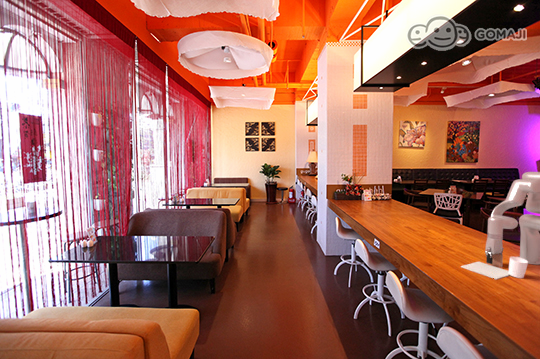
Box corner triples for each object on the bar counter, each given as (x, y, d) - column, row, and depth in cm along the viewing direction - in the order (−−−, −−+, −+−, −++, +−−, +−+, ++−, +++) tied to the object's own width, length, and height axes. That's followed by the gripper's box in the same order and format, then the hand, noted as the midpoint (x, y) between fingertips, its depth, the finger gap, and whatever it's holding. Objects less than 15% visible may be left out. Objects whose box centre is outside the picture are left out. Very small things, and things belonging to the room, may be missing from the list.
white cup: (507, 270, 163) (509, 255, 162) (524, 275, 158) (527, 259, 157) (507, 275, 157) (510, 259, 156) (525, 280, 152) (528, 264, 151)
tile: (488, 262, 178) (488, 251, 178) (502, 267, 171) (502, 254, 170) (486, 263, 178) (486, 251, 177) (500, 267, 170) (500, 255, 170)
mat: (478, 262, 179) (478, 261, 179) (514, 273, 161) (514, 272, 161) (460, 267, 173) (460, 266, 173) (496, 279, 154) (496, 278, 154)
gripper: (496, 233, 179) (495, 257, 181) (480, 236, 173) (479, 262, 174) (509, 236, 173) (508, 261, 174) (493, 239, 166) (492, 266, 167)
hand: (494, 261), depth 174 cm, fingers open, 9 cm apart
